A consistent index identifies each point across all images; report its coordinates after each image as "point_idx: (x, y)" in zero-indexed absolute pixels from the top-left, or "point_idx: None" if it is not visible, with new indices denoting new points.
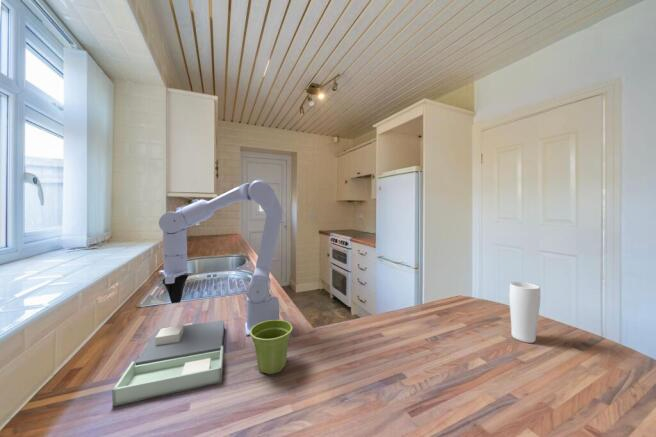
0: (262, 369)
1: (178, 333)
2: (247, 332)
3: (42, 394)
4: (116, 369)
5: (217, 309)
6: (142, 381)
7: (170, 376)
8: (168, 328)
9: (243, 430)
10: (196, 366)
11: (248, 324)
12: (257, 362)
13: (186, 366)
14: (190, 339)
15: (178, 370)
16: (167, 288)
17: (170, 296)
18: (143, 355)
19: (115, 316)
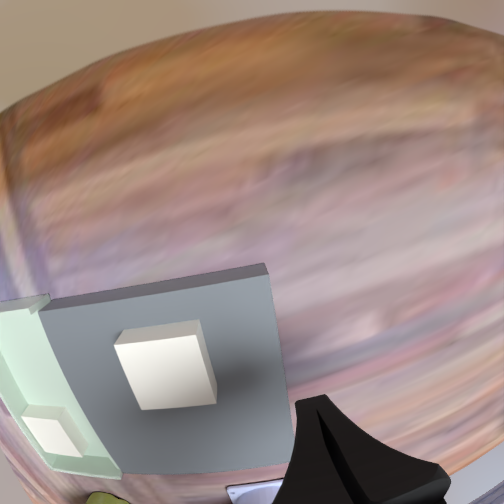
0: (88, 498)
1: (145, 407)
2: (237, 490)
3: (11, 117)
4: (72, 230)
5: (451, 368)
6: (26, 333)
7: (47, 383)
8: (190, 363)
9: (6, 457)
10: (51, 437)
11: (251, 502)
12: (96, 499)
13: (47, 423)
14: (161, 416)
15: (67, 394)
16: (282, 483)
17: (296, 433)
18: (67, 317)
19: (467, 28)
